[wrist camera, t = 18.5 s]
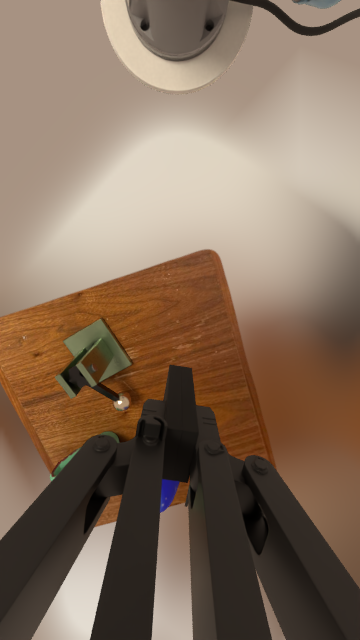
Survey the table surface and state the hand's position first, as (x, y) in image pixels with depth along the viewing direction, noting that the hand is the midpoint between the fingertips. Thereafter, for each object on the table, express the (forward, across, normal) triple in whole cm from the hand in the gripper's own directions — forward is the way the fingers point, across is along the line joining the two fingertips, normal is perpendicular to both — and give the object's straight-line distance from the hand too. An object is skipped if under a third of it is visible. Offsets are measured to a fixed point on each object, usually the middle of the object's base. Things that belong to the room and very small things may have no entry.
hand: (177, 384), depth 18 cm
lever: (+28, -11, -17) cm, 35 cm away
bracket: (+34, -14, -14) cm, 40 cm away
